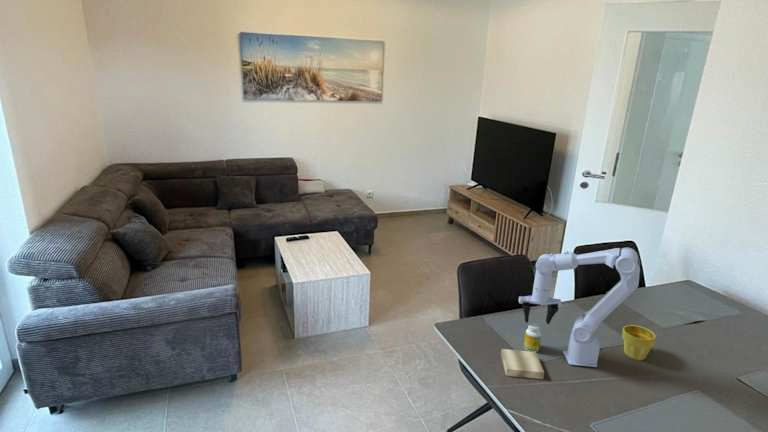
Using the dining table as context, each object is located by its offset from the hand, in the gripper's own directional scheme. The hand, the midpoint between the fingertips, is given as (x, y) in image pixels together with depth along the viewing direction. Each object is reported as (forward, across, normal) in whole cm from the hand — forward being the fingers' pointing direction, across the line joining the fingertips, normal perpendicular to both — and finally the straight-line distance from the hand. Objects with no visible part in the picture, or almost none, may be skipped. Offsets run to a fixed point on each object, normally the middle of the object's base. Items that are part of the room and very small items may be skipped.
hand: (536, 322), depth 162 cm
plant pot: (+11, -36, +1) cm, 37 cm away
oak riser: (+11, +7, +13) cm, 19 cm away
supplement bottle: (+11, +1, +1) cm, 11 cm away
